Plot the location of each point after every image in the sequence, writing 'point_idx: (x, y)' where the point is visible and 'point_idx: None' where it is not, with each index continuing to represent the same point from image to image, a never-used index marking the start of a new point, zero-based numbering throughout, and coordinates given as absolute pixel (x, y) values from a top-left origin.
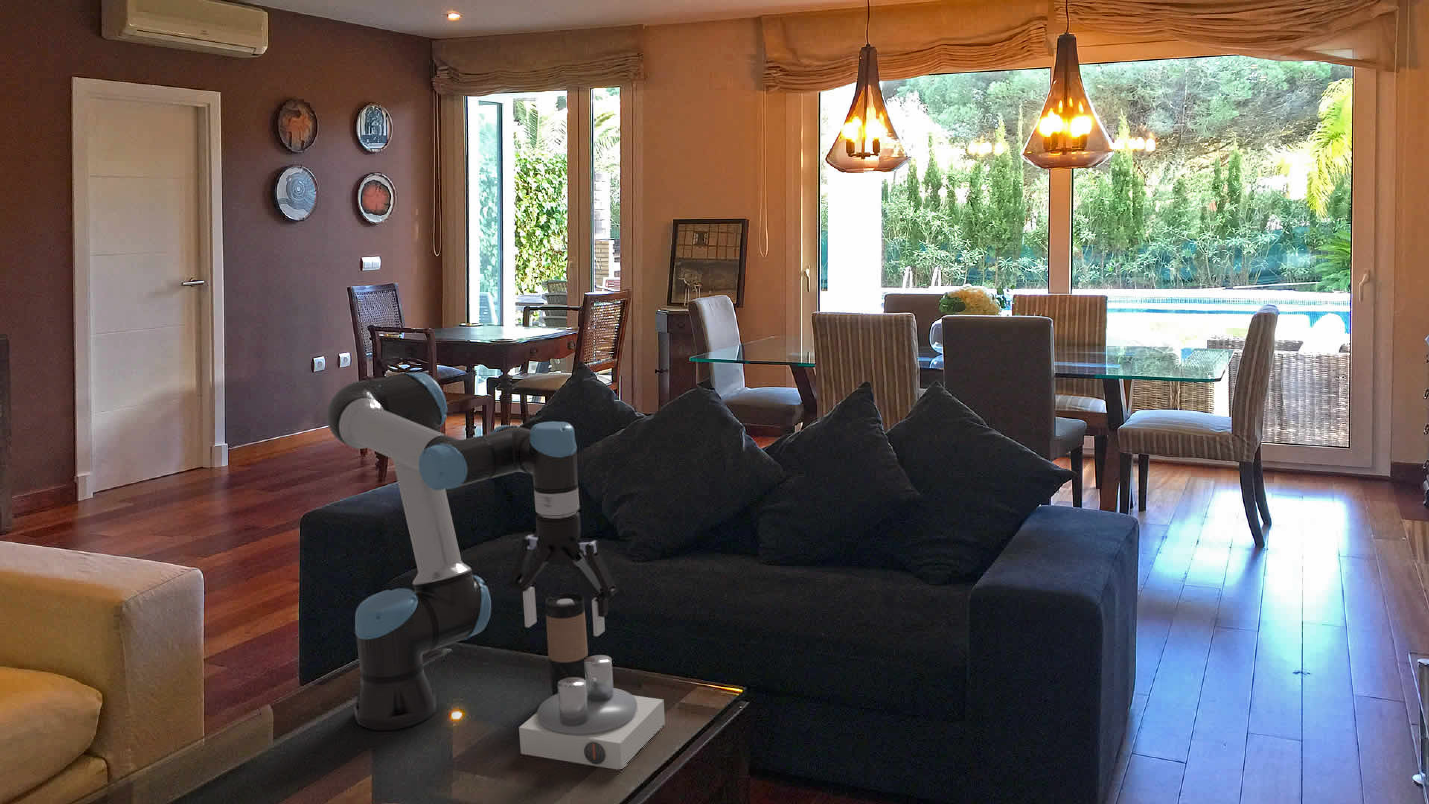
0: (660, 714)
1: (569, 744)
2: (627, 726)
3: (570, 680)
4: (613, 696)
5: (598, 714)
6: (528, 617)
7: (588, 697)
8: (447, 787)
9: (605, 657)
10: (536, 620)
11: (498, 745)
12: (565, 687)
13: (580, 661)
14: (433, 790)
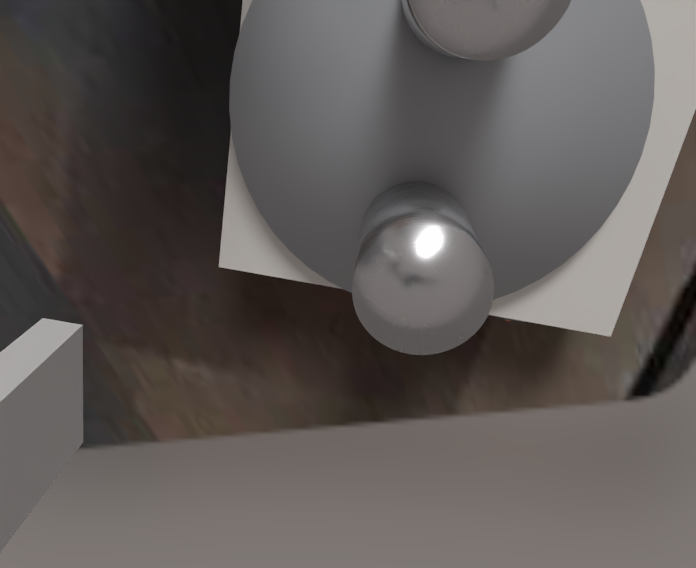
0: None
1: None
2: (620, 215)
3: (407, 264)
4: None
5: (499, 177)
6: (33, 501)
7: (422, 42)
8: (135, 423)
9: None
10: (75, 334)
11: (146, 193)
12: (406, 339)
13: None
14: (109, 438)
